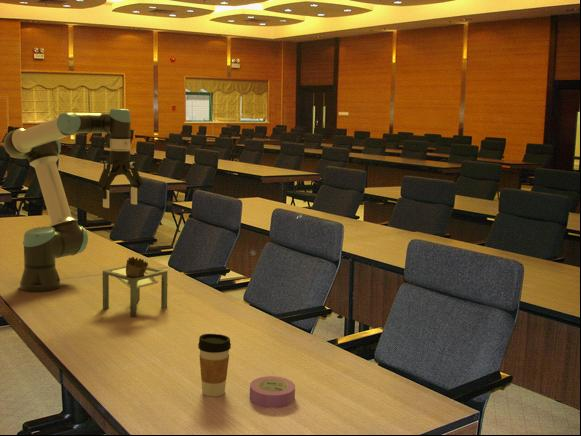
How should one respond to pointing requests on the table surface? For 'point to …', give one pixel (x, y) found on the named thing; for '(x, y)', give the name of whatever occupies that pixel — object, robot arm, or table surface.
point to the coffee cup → (214, 363)
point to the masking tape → (272, 392)
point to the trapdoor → (140, 282)
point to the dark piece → (135, 267)
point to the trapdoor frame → (134, 287)
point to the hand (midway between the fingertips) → (120, 205)
